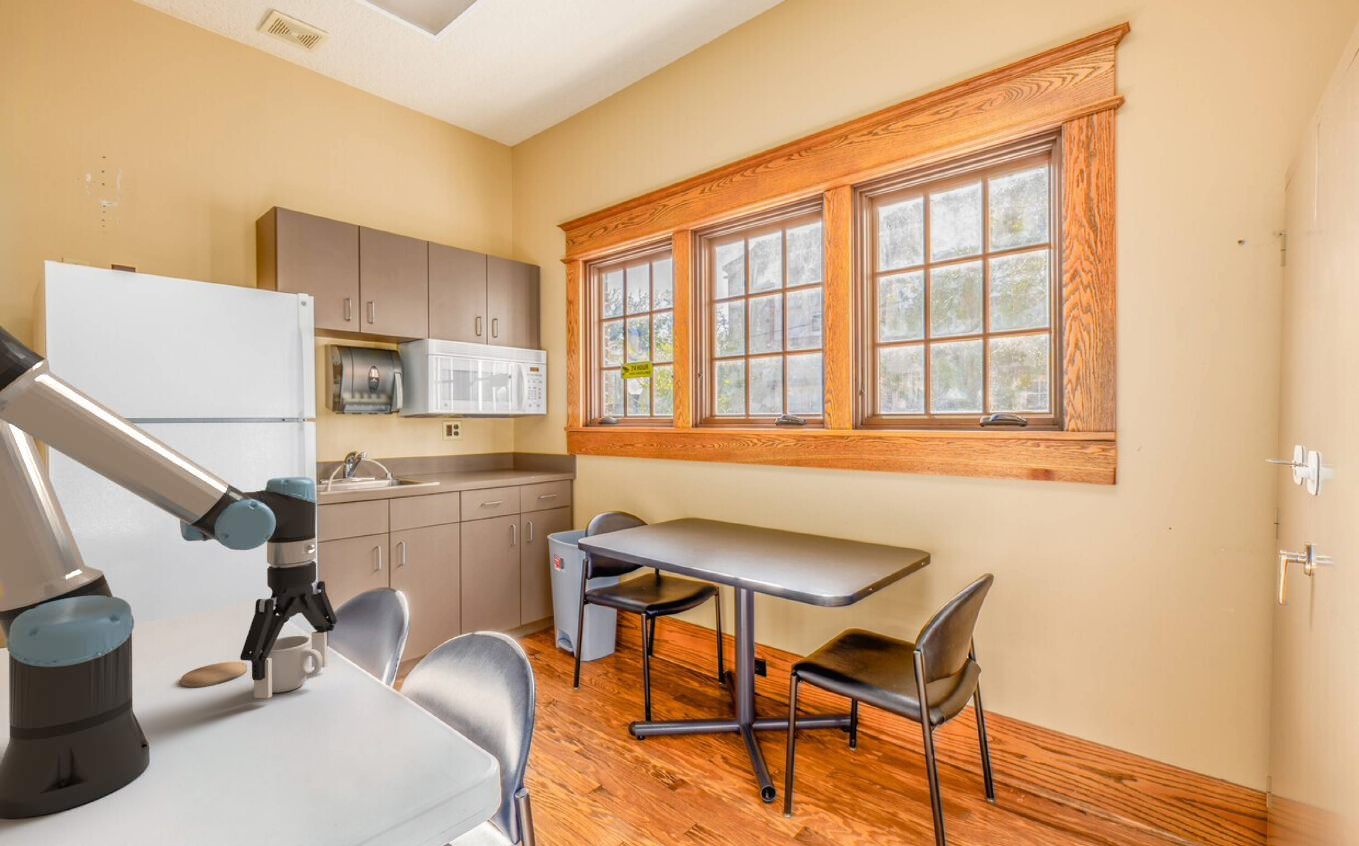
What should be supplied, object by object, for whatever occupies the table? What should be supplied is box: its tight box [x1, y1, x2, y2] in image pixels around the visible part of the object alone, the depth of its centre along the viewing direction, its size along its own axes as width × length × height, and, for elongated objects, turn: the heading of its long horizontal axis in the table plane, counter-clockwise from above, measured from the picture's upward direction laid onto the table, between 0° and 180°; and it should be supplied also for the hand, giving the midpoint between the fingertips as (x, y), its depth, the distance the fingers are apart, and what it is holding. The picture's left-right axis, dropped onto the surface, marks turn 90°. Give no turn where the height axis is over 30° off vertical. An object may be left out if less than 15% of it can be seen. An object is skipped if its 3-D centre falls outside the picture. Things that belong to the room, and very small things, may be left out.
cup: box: [260, 635, 323, 693], centre depth 112 cm, size 11×8×8 cm
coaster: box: [180, 661, 248, 688], centre depth 117 cm, size 10×10×1 cm
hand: (293, 680), depth 112 cm, fingers open, 13 cm apart
